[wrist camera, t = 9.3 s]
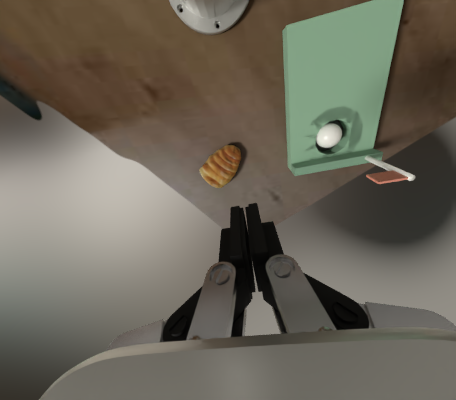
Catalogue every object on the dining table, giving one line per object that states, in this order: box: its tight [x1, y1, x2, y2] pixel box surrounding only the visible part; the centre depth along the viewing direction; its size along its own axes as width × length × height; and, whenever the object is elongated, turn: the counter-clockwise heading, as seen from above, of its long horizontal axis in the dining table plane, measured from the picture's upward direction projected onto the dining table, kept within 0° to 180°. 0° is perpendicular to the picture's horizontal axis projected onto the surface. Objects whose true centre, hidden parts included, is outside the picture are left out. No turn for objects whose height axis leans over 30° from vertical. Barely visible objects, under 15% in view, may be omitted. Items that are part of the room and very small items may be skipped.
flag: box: [365, 156, 415, 184], centre depth 29 cm, size 1×4×14 cm, turn 102°
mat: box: [283, 0, 404, 176], centre depth 29 cm, size 22×15×5 cm
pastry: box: [200, 145, 241, 188], centre depth 36 cm, size 9×7×4 cm
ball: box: [316, 123, 342, 148], centre depth 32 cm, size 4×4×4 cm
